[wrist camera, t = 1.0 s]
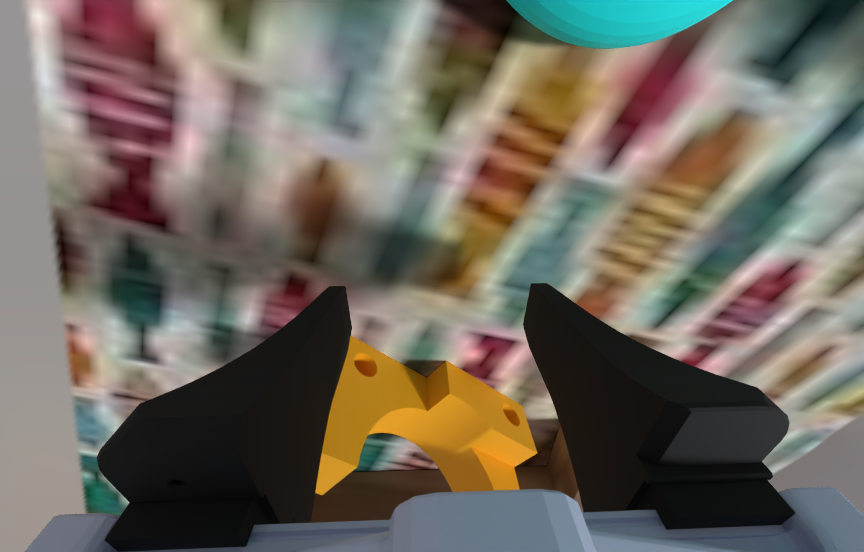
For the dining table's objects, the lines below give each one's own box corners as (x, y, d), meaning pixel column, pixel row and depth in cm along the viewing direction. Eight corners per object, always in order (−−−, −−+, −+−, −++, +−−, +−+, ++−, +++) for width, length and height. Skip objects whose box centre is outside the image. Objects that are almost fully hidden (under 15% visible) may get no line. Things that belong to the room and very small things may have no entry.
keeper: (556, 474, 25) (575, 528, 22) (306, 482, 24) (290, 539, 21) (577, 419, 21) (602, 474, 18) (285, 427, 21) (263, 485, 18)
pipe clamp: (521, 403, 21) (559, 520, 15) (474, 436, 22) (493, 552, 17) (364, 309, 17) (337, 424, 11) (320, 358, 18) (278, 480, 13)
